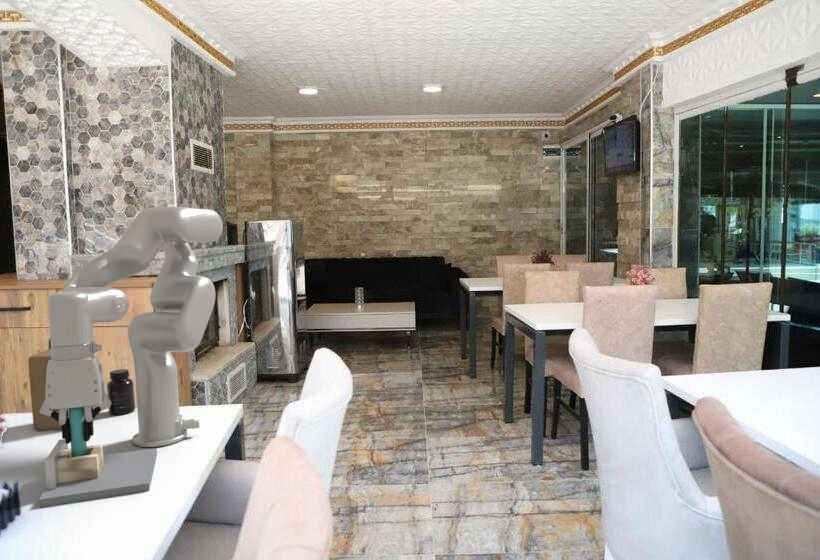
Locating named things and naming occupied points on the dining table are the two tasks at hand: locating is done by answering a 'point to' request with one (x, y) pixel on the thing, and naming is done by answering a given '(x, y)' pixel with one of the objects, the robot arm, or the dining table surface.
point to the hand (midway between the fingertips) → (78, 439)
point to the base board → (108, 479)
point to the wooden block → (40, 391)
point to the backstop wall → (54, 464)
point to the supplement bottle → (121, 392)
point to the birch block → (80, 465)
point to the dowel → (77, 432)
